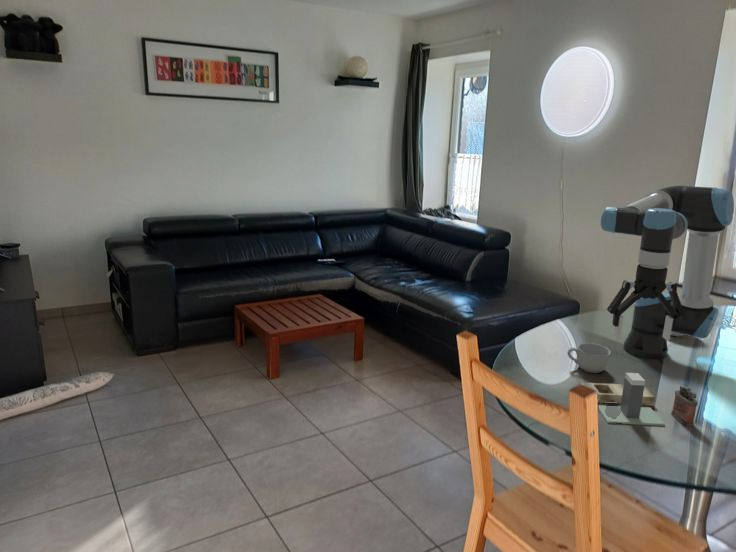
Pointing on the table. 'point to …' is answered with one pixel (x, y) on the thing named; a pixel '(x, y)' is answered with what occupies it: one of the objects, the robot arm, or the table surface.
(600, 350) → the teacup
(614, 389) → the block
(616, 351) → the table surface
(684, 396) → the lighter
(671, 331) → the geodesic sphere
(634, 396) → the gray rectangular block
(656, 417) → the mat
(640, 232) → the robot arm
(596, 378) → the table surface
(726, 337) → the table surface
